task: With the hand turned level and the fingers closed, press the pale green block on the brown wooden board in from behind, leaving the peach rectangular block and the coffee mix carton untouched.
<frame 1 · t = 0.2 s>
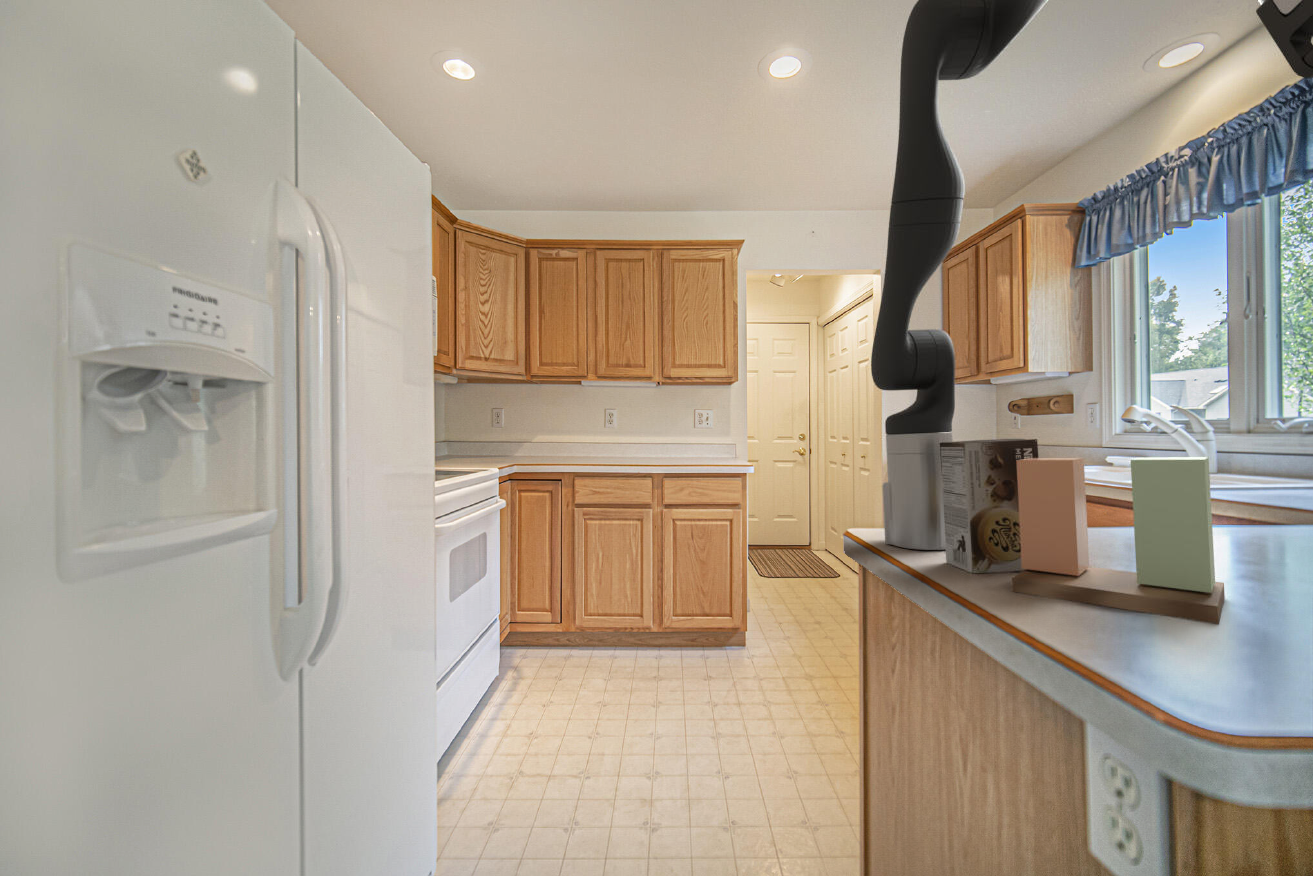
coffee box: (993, 568, 67), on the countertop
peach rectangular block: (1052, 513, 58), point 8 cm above the countertop, slide at 0.0 cm
pale green block: (1172, 520, 51), point 8 cm above the countertop, slide at 0.0 cm
brown wooden board: (1113, 594, 54), on the countertop
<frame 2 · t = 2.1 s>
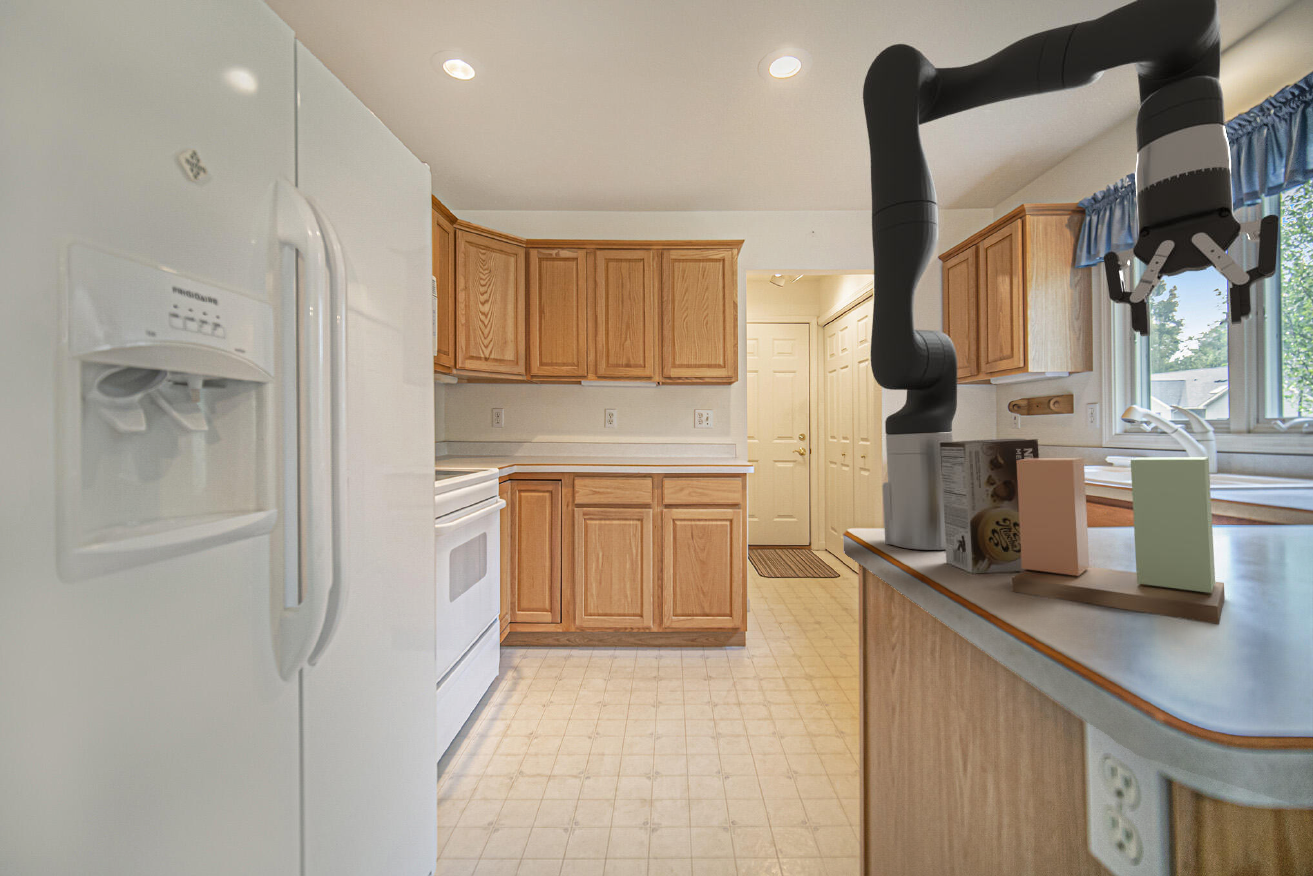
hand: (1189, 329, 59), 28 cm above the countertop, tool pointing down, fingers open, 6 cm apart
nothing on the countertop moved.
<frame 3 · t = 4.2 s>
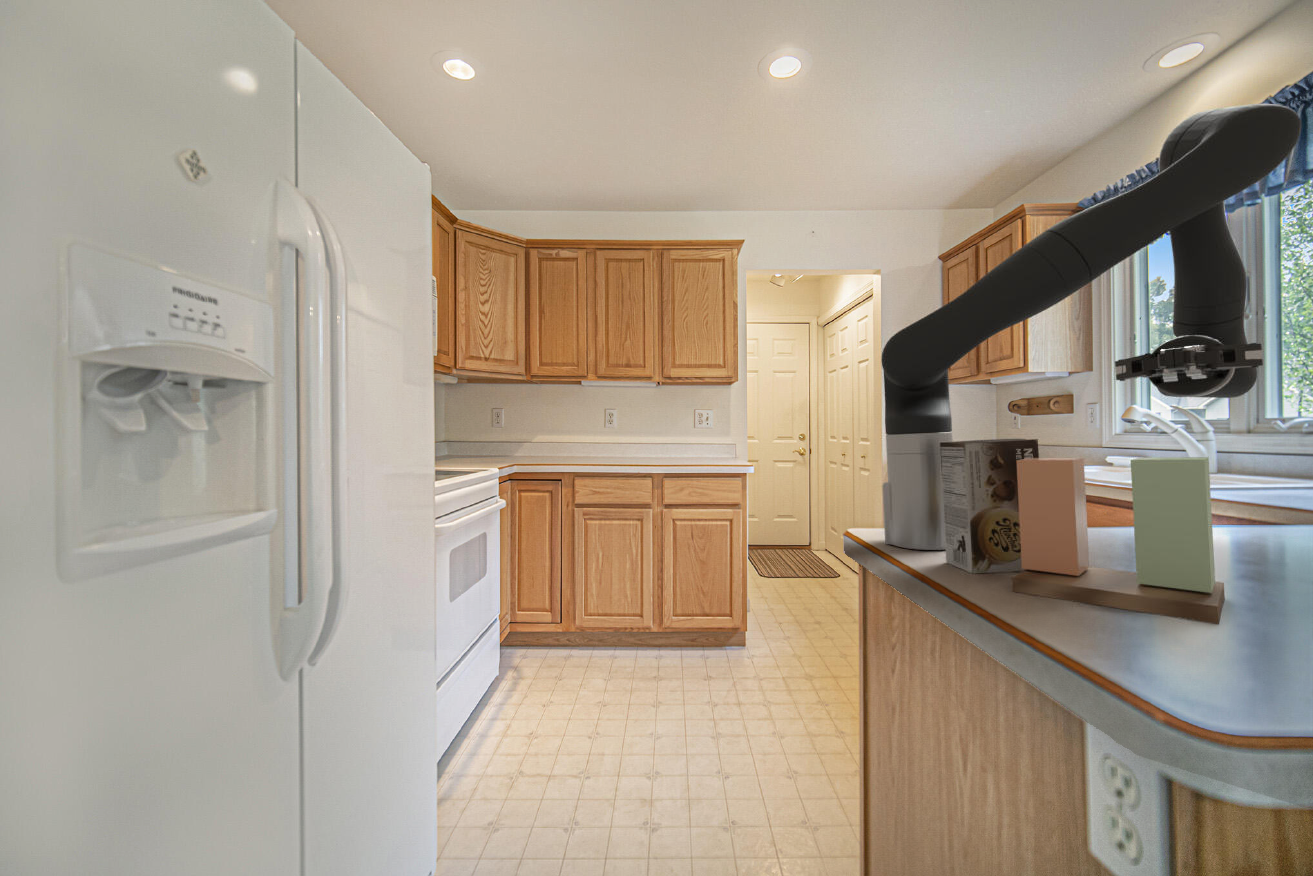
hand: (1173, 358, 57), 24 cm above the countertop, tool horizontal, fingers closed
nothing on the countertop moved.
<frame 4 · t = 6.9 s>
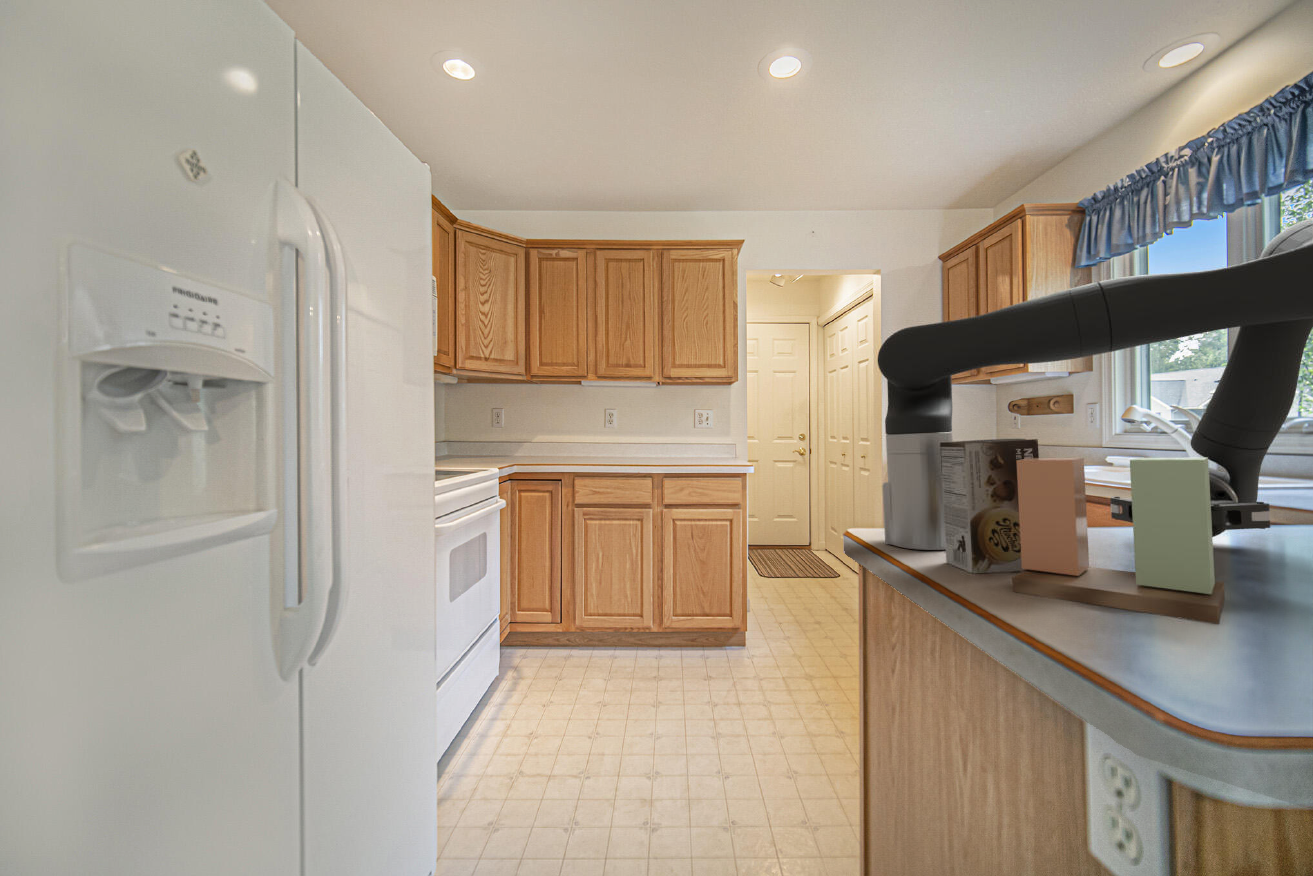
hand: (1175, 521, 52), 7 cm above the countertop, tool horizontal, fingers closed
pale green block: (1171, 521, 51), point 8 cm above the countertop, slide at 0.6 cm, touching gripper
everything else where it was.
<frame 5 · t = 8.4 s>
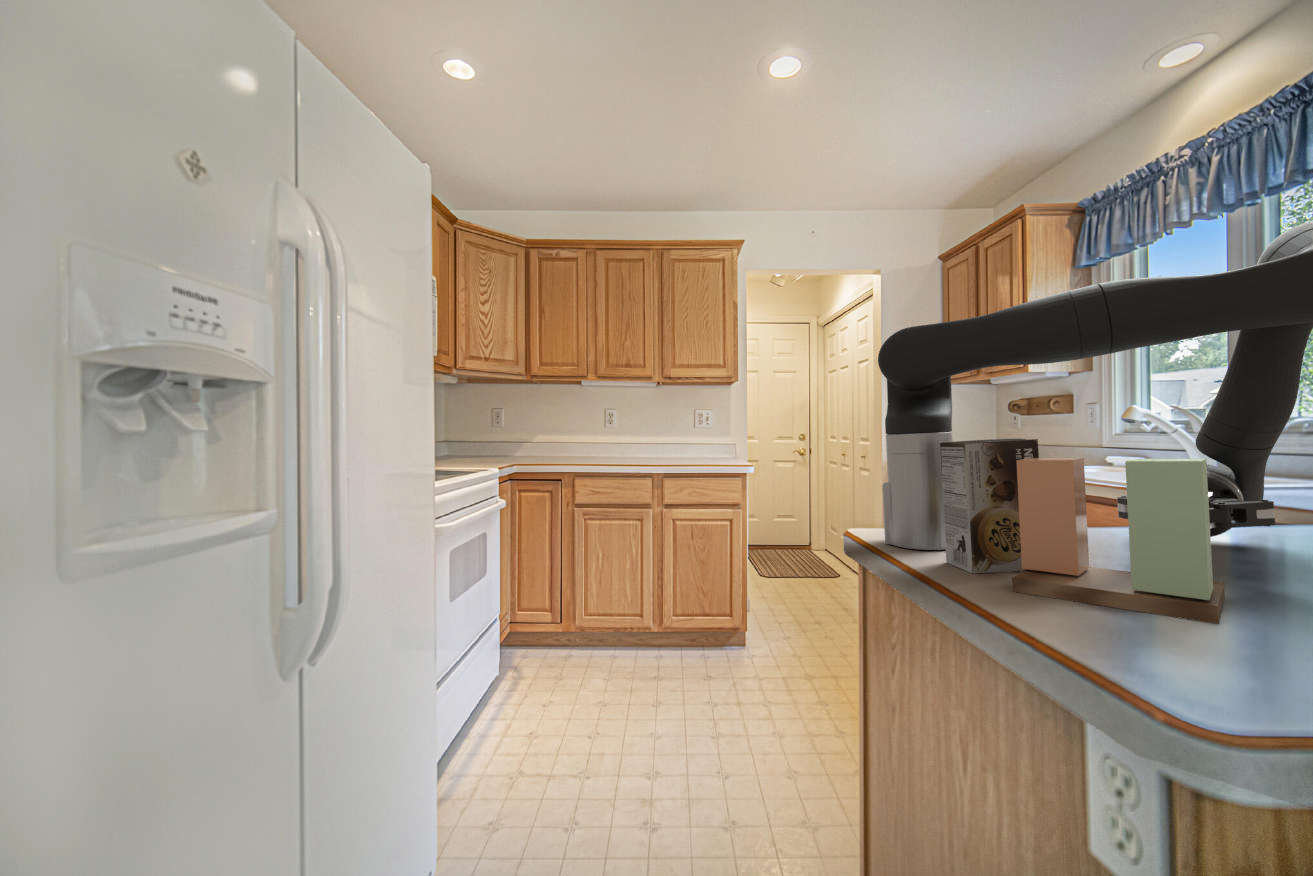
hand: (1181, 519, 53), 7 cm above the countertop, tool horizontal, fingers closed
pale green block: (1168, 524, 49), point 8 cm above the countertop, slide at 3.0 cm
everything else where it was.
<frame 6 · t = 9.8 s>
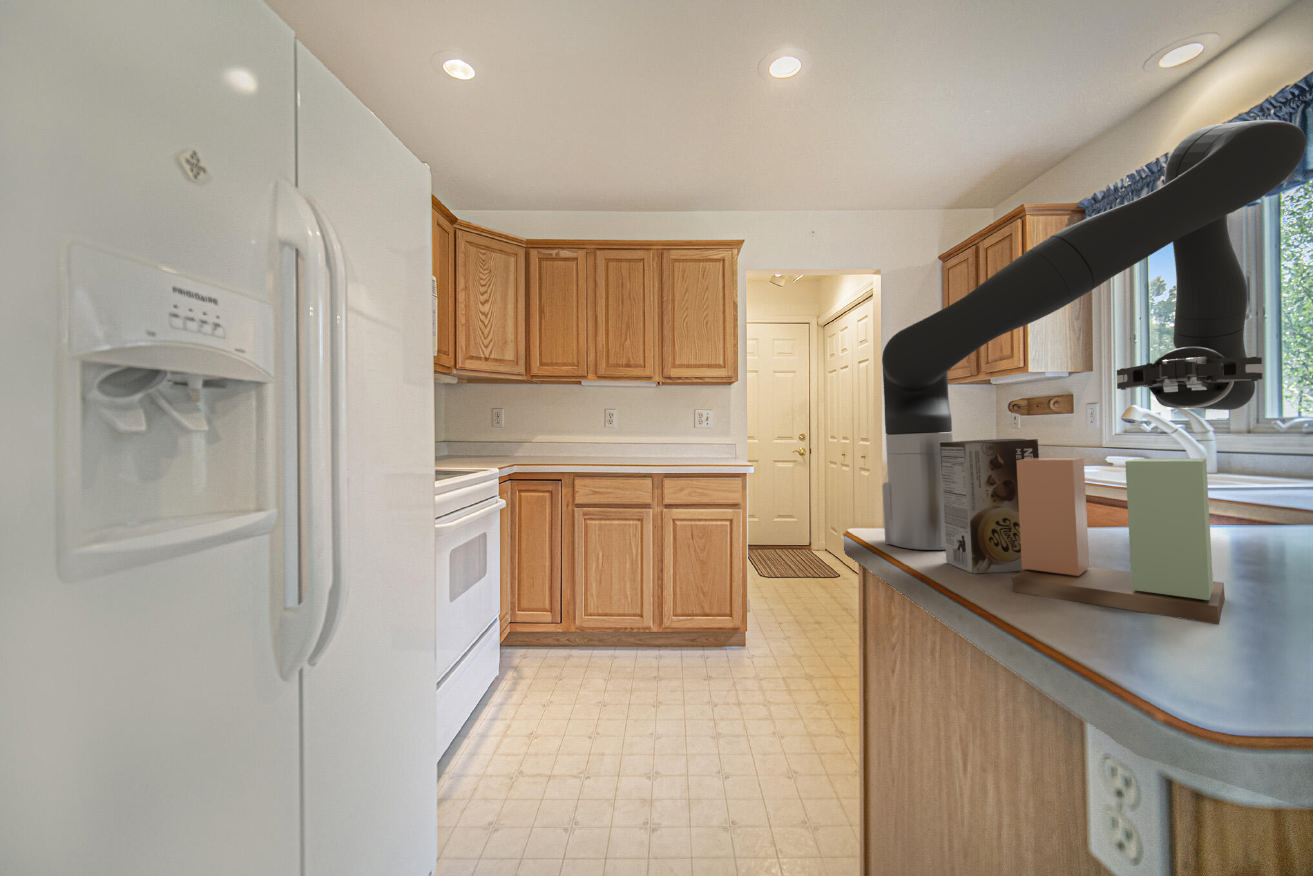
hand: (1175, 368, 58), 23 cm above the countertop, tool horizontal, fingers closed
nothing on the countertop moved.
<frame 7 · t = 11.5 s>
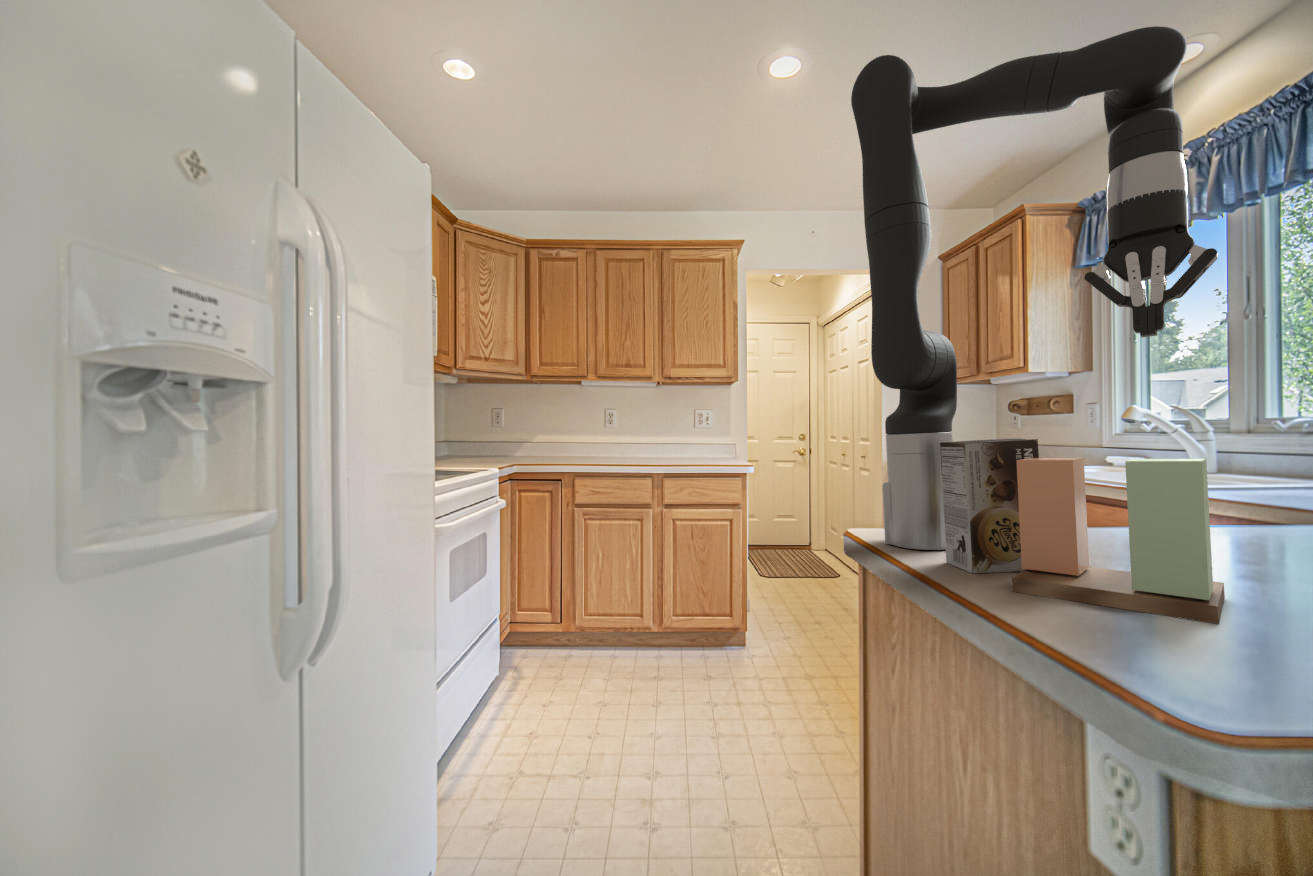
hand: (1149, 335, 67), 29 cm above the countertop, tool pointing down, fingers closed
nothing on the countertop moved.
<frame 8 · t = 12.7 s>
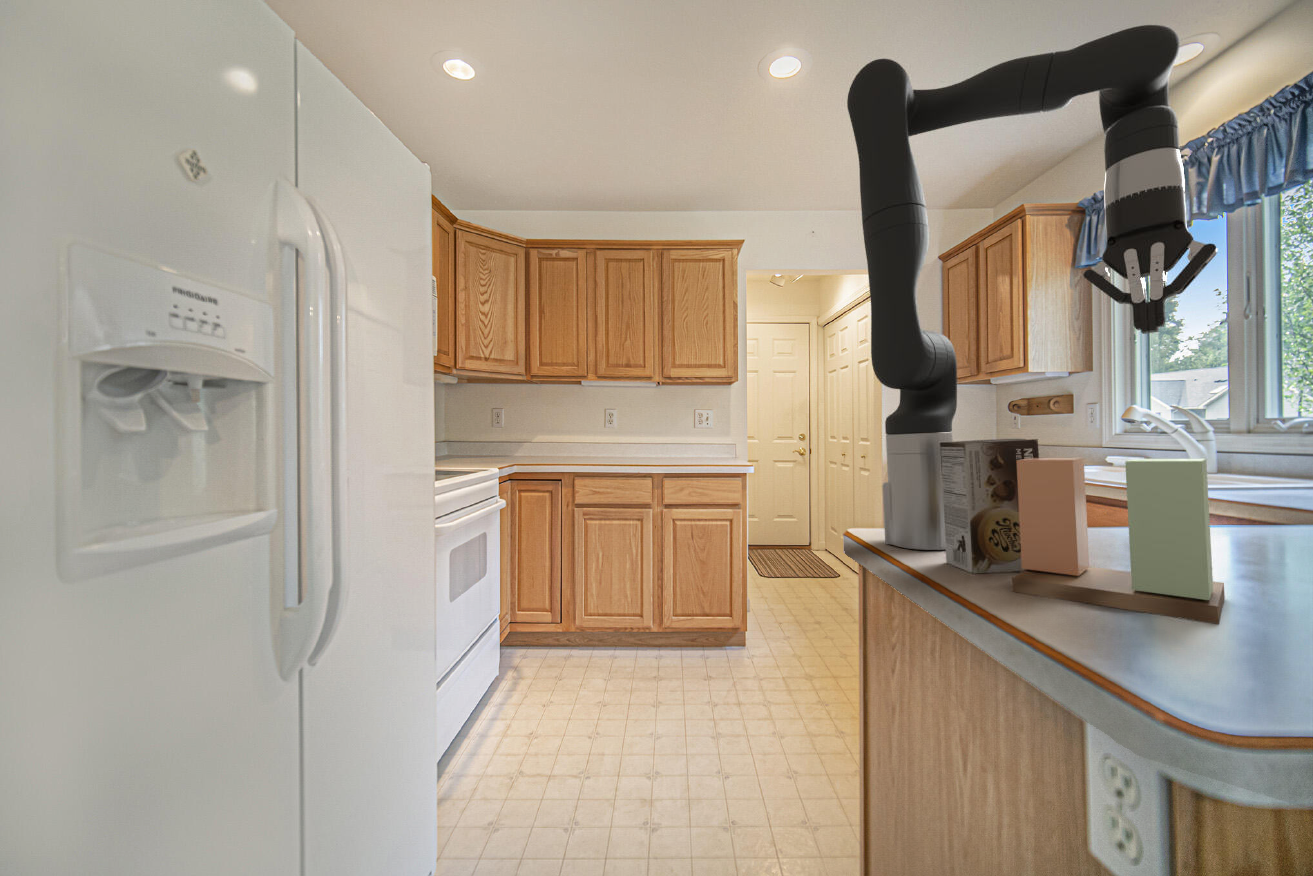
hand: (1150, 332, 67), 29 cm above the countertop, tool pointing down, fingers closed
nothing on the countertop moved.
at the end: pale green block slide at 3.0 cm; peach rectangular block slide at 0.0 cm; coffee box moved 0.1 cm from its start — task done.
